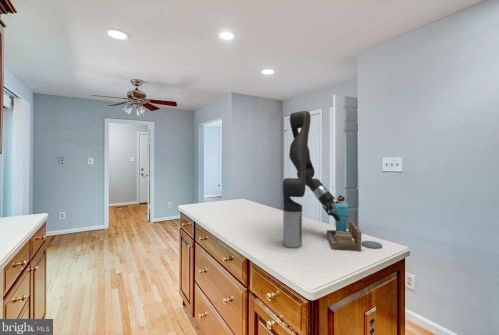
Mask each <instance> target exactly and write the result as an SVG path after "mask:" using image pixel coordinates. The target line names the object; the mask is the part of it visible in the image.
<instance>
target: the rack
mask: <svg viewBox="0 0 499 335" xmlns="http://www.w3.org/2000/svg"><path fill="white" fill-rule="evenodd" d="M346 232H350V233H351V235H352V237H353V238H354V240H355V243H339V242H335V241H334V235H336V230H332V229H331V230H330V229H329V230H327V229H326V236H327V239H328V242H329V245H330V248H331V250H334V251H335V250H336V251H337V250H338V251H351V252H353V251H354V252H362V231H361V230H360V229H359V227H358V225H356V224H355V222H353V220H350V219H349V220H348V230H346Z"/></svg>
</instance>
